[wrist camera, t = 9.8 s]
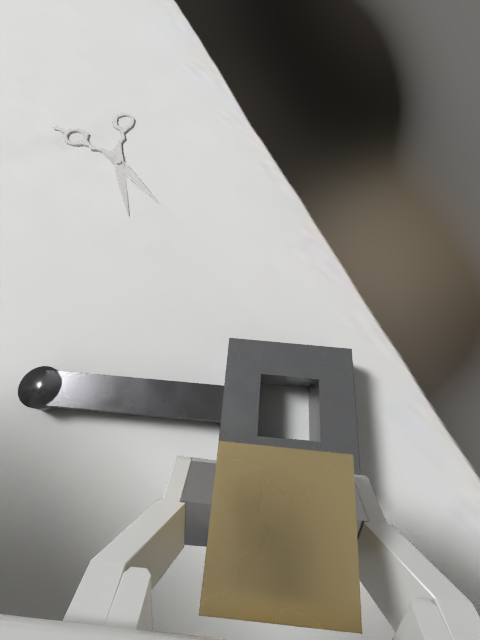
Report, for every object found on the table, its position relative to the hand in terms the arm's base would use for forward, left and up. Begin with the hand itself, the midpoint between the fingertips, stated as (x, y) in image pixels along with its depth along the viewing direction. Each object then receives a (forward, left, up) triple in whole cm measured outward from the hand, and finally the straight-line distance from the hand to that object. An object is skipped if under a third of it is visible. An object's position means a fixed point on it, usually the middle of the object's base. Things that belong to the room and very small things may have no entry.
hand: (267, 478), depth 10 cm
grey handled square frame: (+3, +6, -18) cm, 19 cm away
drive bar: (-1, 0, -4) cm, 4 cm away
